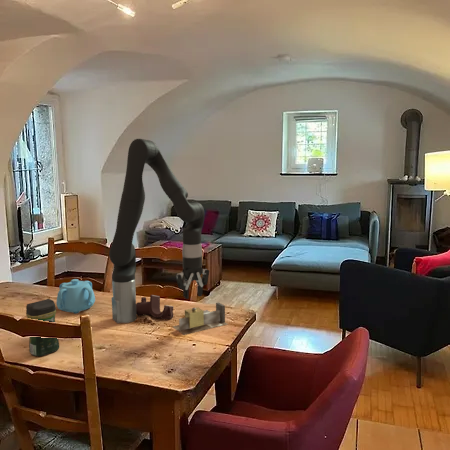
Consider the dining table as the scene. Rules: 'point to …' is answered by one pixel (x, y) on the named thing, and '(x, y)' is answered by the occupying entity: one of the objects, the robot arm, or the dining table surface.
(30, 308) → the coffee jar
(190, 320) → the block with knob
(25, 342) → the dining table surface
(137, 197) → the robot arm
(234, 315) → the dining table surface
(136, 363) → the dining table surface
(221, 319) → the rail
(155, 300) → the bracket
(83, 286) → the decorative pot
